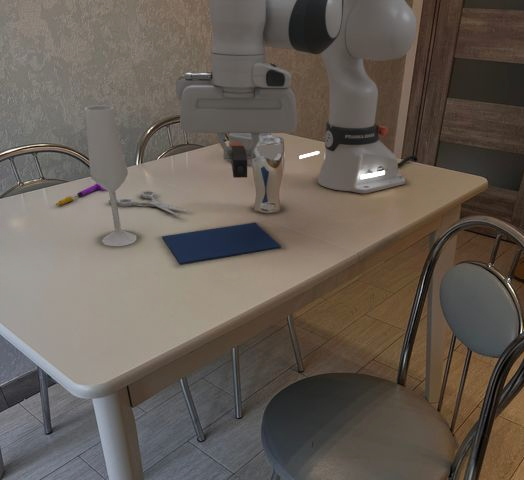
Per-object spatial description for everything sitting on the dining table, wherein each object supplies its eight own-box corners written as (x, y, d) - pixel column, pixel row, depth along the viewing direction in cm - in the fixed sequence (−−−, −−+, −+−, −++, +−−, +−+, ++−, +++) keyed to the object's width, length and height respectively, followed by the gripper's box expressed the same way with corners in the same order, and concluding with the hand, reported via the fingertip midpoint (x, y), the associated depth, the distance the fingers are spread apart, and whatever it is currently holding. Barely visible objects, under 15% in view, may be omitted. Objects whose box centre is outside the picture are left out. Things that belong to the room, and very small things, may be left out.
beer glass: (245, 207, 120) (245, 138, 112) (269, 201, 124) (270, 133, 115) (265, 216, 116) (266, 144, 107) (289, 209, 119) (291, 139, 111)
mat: (255, 224, 112) (255, 222, 112) (280, 247, 102) (281, 245, 102) (162, 238, 106) (162, 236, 106) (180, 264, 96) (179, 262, 96)
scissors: (143, 188, 128) (204, 206, 118) (143, 191, 128) (205, 209, 118) (108, 200, 121) (170, 220, 111) (108, 203, 121) (170, 223, 111)
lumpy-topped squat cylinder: (224, 161, 150) (223, 129, 146) (247, 151, 160) (247, 120, 155) (256, 167, 146) (256, 133, 141) (278, 156, 156) (279, 124, 151)
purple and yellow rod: (101, 185, 131) (55, 205, 120) (101, 180, 131) (55, 201, 119) (110, 189, 131) (64, 210, 119) (110, 184, 130) (64, 205, 118)
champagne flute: (137, 244, 103) (118, 111, 89) (101, 247, 102) (77, 112, 88) (136, 231, 108) (119, 103, 95) (102, 233, 107) (80, 104, 93)
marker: (228, 157, 103) (228, 141, 101) (244, 157, 103) (244, 141, 102) (231, 179, 92) (231, 161, 90) (249, 179, 92) (249, 161, 90)
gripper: (174, 74, 85) (179, 163, 93) (301, 75, 87) (296, 163, 94) (175, 69, 90) (181, 154, 98) (295, 71, 92) (291, 153, 100)
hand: (238, 158), depth 96 cm, fingers closed on marker, 2 cm apart
